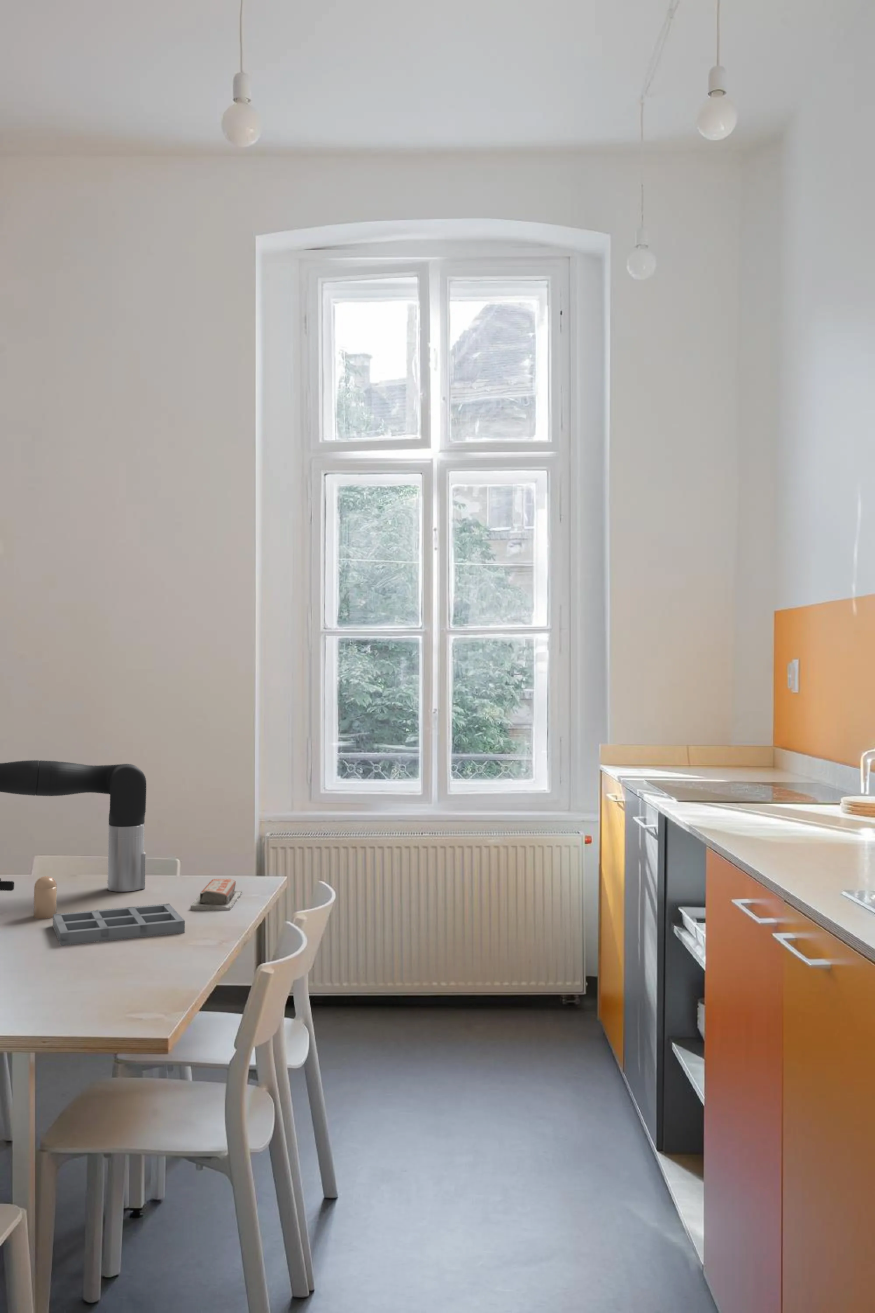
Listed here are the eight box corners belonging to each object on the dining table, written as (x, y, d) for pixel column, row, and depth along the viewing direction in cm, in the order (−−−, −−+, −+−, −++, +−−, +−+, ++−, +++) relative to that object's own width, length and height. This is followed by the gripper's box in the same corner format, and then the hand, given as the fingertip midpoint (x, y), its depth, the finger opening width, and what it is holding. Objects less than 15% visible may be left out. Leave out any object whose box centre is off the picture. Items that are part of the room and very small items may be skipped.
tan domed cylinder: (55, 912, 237) (55, 873, 237) (57, 917, 233) (57, 877, 233) (32, 915, 235) (33, 875, 235) (34, 919, 230) (35, 879, 230)
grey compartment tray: (168, 914, 237) (169, 903, 237) (184, 932, 221) (184, 920, 221) (52, 925, 225) (53, 914, 225) (60, 945, 209) (60, 933, 209)
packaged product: (204, 877, 259) (242, 877, 260) (204, 895, 259) (242, 895, 260) (190, 892, 241) (230, 892, 242) (189, 912, 241) (230, 912, 242)
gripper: (-78, 879, 228) (-11, 880, 227) (-44, 866, 243) (19, 868, 242) (-79, 911, 228) (-12, 913, 227) (-45, 897, 243) (19, 898, 241)
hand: (4, 890), depth 234 cm, fingers open, 8 cm apart
